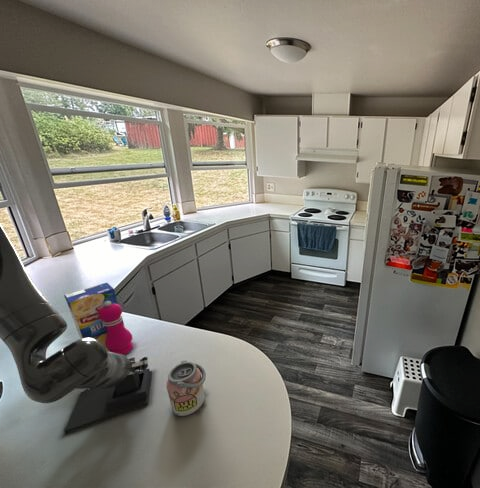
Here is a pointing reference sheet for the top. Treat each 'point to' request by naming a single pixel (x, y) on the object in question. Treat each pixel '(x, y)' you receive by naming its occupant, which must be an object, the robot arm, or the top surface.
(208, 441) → the top surface
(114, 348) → the pepper mill
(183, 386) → the beverage can
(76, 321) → the beverage box
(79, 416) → the base pad
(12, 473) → the top surface
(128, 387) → the black tall rectangular block
